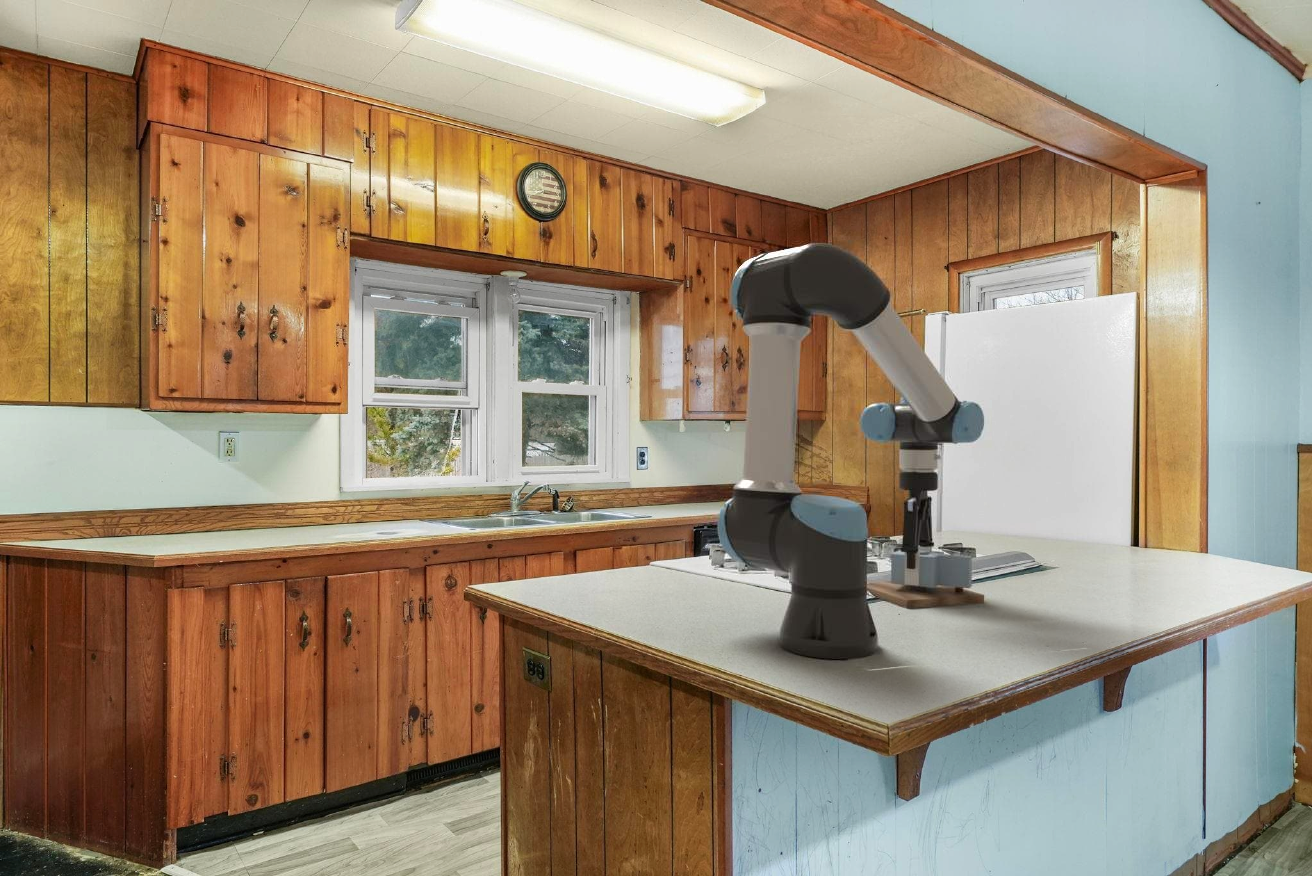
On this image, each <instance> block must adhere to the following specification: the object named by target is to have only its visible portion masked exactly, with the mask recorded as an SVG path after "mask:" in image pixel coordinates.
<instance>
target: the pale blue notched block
mask: <svg viewBox="0 0 1312 876" xmlns="http://www.w3.org/2000/svg"><path fill="white" fill-rule="evenodd" d="M918 551H922V552H926V555H920V561H919V586H922V587H932V588H935V587H936V586H938V585H940V586H950V587H960V588H963V589H971V588H972V587H973V585H972V584H973V581H972V580H973V575H972V574H973V569H972V568H973V557H972V555H959V554H958V555H957V554H947V553H946V554H945V552H944V551H936V550H930V551H924V550H918ZM890 557H891V559H890V560H891V561H890V563H891V565H890V568H891V569H890V571H891V573H890V576H891V577H890V581H891V583H892V584H902V585H905V552H901V550H900V549H899V550H896V551H894V552H892V553H891V555H890ZM912 586H915V585H912Z"/></svg>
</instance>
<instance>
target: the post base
mask: <svg viewBox="0 0 1312 876" xmlns="http://www.w3.org/2000/svg"><path fill="white" fill-rule="evenodd" d="M918 553H920V555H926V552H922V551H918ZM877 582H878V583H869V584H867V591H869V592H870V593H871V594H872V595H873V596H875V597H874V598H876V599H878V600H879V599H880V600H882V601H885V602H888V603H890V604H893V605H896V606H900V607H902V608H905V609H914V608H927V607H928V608H929V607H940V606H941V607H942V606H955V605H968V604H982V603H985V594H982V593H978V592H975V591H973V590H972V591H971V590H968V589H966V588H963V592H955V587H950V586H940V585H938V586H936V587H935V588H932V587H922V586H912V585H902V584H892V583H891V580H886V581H885V580H883V582H882V581H877ZM873 596H872V597H873Z"/></svg>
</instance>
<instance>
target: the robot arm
mask: <svg viewBox="0 0 1312 876" xmlns="http://www.w3.org/2000/svg"><path fill="white" fill-rule="evenodd" d="M891 301H892V294H891V291H890V290H889V288H888V287H887V286H886V284H885V282H884V281H883V280H882V279H881V278H880V276H879V275H878V274H877V273H876V272H875V271H874V270H873V269H872V268H871V267H870V266H869V265H868V264H866V263H865V262H864V261H863V260H861V259H860V258H859V257H857V256H856V255H854V253H853V254H852V253H851V252H850V251H848V250H846V249H844V248H841V247H840V246H837V245H833V244H831V243H825V242H815V243H814V242H813V243H808V244H804V245H800V246H796V247H792V248H788V249H784V250H783V249H782V250H779V251H777V250H776V251H773V252H765V253H762V254H760V255H758V256H755V257H752V258H750V259H748V260H746V261H745V262H744V263H743V264H742V265H741V266H740V267H738V269H737V271H736V272H735V274H734V276H733V279H732V283H731V286H730V303H731V307H732V308H734V309H735V310H734V313H735V315H736V316H737V318H738V319H739V320H741V321H742V331H743V332H744V333H745V334H746V336H748V338H749V340H750V342H749V343H750V344H749V346H750V347H749V362H748V363H749V364H748V365H749V366H748V381H747V382H748V383H747V399H746V416H745V417H746V418H745V420H746V421H745V434H744V435H745V436H744V455H743V469H742V471H743V472H742V478H741V479H740V480H739V481H738V482H737V483H735V484H734V486H733V492H732V493H733V494H732V498H730V499H728V500H727V501H726V502H725V503H724V505H723V508H721V509H720V511H719V513H718V514H719V515H718V519H717V526H716V527H717V535H718V540H719V543H720V545H721V547H722V549H723V550H724V552H726V554H727V556H728V557H730V558H731V559H732V560H734V561H735V562H738V563H740V564H742V565H743V564H744V565H747V566H748V567H751V568H754V569H755V568H757V569H758V568H763V569H767V570H773V571H778V572H783V573H789V574H791V575H790V576H791V578H790V580H791V583H790V585H791V587H790V588H791V589H790V590H791V591H790V599H789V601H788V603H787V607H786V610H785V613H784V616H783V618H782V619H783V620H782V623H781V625H780V629H779V645H780V646H781V647H782V649H784V650H786V651H788V652H791V653H793V654H796V655H801V656H806V657H811V658H819V659H831V660H845V659H846V660H848V659H849V660H851V659H860V658H864V657H865V658H866V657H869V656H872V655H875V654H876V653H877V652H878V651H879V650H878V649H879V636H878V635H879V634H878V632H877V629H876V625H875V622H874V619H873V616H872V613H871V609H870V606H869V603H868V598H867V596H868V595H867V582H868V579H867V578H868V537H869V528H868V520H867V518H868V517H867V515H868V514H867V512H866V509H864V507H863V506H862V505H861V504H859V503H857V502H856V501H853V500H849V499H846V498H841V497H837V496H831V495H830V496H828V495H821V494H802V493H803V490H802V489H801V488H800V486H798V484H797V483H796V482H795V480H794V477H795V476H794V475H795V474H794V473H795V457H796V455H795V454H796V439H797V438H796V437H797V420H798V416H797V415H798V403H799V401H798V399H799V383H800V382H799V381H800V365H801V361H800V360H801V348H802V347H801V346H802V345H801V344H802V343H801V342H802V341H803V340H804V339H805V337H807V336H808V335H809V334H810V333H811V328H812V326H811V325H812V317H816V316H825V317H829V318H831V319H833V320H834V321H835V322H836V324H837V325H838V326H839V328H841V329H842V330H844V331H847V332H851V333H852V334H853V335H854V337H856V339H857V340H858V342H859V343H860V344H861V345H862V346H863V348H864V349H865V350H866V351H867V353H868V354H869V356H870V357H871V359H872V361H874V362H875V363H876V365H877V366H878V368H879V369H880V370H881V372H883V374H884V375H885V376H886V378H887V379H888V381H890V383H891V384H892V386H893V387H894V388H895V389H896V390H897V392H898V393H899V395H900V396H901V397H900V402H899V403H887V402H879V403H872V404H870V405H868V406H866V407H865V408H864V409H863V411H862V413H861V416H860V419H859V420H860V421H859V423H860V424H859V425H860V431H861V432H862V434H863V436H864V437H865V438H866V439H867V440H869V441H872V442H875V443H876V442H877V443H886V442H887V443H899V455H898V458H899V459H898V464H899V466H898V467H899V469H901V471H900V472H899V473H898V474H899V476H898V477H899V478H898V479H899V480H898V481H899V483H898V488H899V489H900V490H903V491H908V498H907V499H905V500H904V501H903V527H902V542H901V543H902V545H901V547H900V549H899V550H901V552H905V585H915V586H919V561H920V553H918V550H924V551H931V547H932V548H933V547H935V542H933V540H934V539H933V526H932V525H933V521H932V500H933V499H932V496H929V495H928V492H932V491H937V490H938V488H939V486H938V485H939V474H938V472H936V470H938V465H939V460H941V459H942V458H941V457H942V456H941V455H940V454H939V444H955V445H957V444H964V443H966V444H968V443H973V442H976V441H977V440H978V439H980V437H981V435H982V434H983V433H982V432H983V430H984V427H985V416H984V411H983V409H982V407H981V406H980V405H979V404H978V403H976V402H974V401H967V400H963V401H960V400H959V398H958V397H957V396H956V394H954V392H953V391H952V389H951V388H950V386H949V385H948V384H947V382H946V381H945V379H944V378H943V377H942V375H941V374H940V372H939V370H938V369H937V368H936V366H935V365H934V363H933V362H932V361H931V359H930V358H929V357H928V355H927V354H926V352H925V351H924V350H923V348H922V347H921V345H920V344H919V343H918V341H917V339H916V338H915V337H914V335H913V334H912V332H911V331H910V329H909V328H908V327H907V325H906V324H905V322H904V321H903V320H902V318H901V317H900V316H899V314H898V312H897V311H896V310H895V308H894V307H893V306H892V304H891Z"/></svg>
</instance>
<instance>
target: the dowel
mask: <svg viewBox="0 0 1312 876" xmlns="http://www.w3.org/2000/svg"><path fill="white" fill-rule="evenodd" d="M963 589H964V588H960V587H955V592H963Z"/></svg>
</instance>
